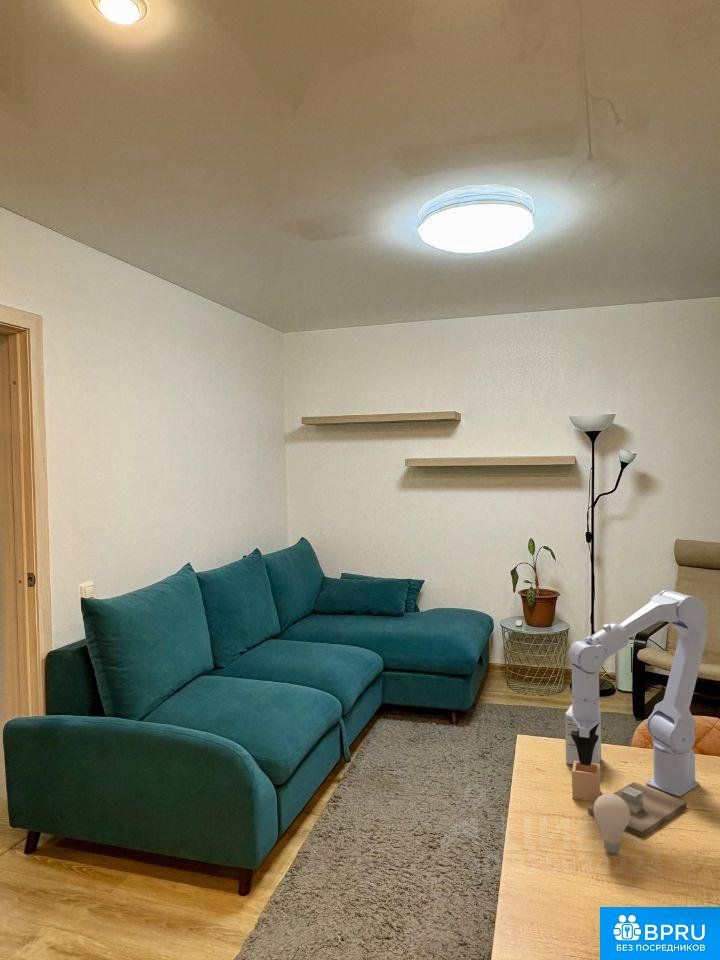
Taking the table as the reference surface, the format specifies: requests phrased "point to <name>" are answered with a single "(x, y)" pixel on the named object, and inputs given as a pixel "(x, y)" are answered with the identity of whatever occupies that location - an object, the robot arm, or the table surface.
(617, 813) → the light bulb
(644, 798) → the duct board
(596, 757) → the supplement box
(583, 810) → the table surface
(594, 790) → the duct sleeve
